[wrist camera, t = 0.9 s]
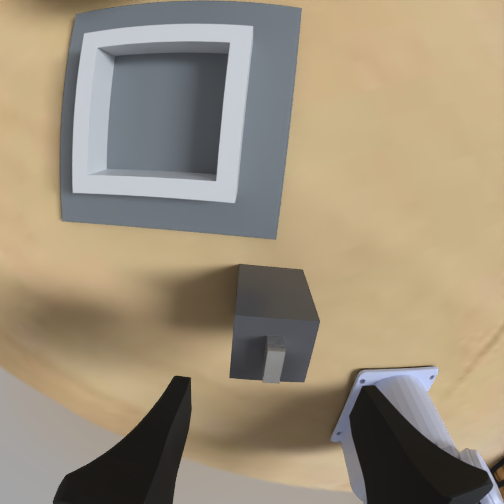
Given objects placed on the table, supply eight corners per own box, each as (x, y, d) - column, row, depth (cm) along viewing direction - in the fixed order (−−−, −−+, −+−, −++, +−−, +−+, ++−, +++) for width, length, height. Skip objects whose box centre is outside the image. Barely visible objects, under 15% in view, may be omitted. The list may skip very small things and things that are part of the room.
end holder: (275, 236, 20) (279, 255, 17) (65, 219, 19) (42, 232, 16) (300, 11, 15) (308, -9, 12) (79, 16, 14) (56, 3, 11)
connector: (292, 322, 22) (306, 397, 15) (234, 317, 22) (228, 393, 15) (302, 269, 20) (324, 336, 14) (239, 263, 20) (233, 329, 14)
